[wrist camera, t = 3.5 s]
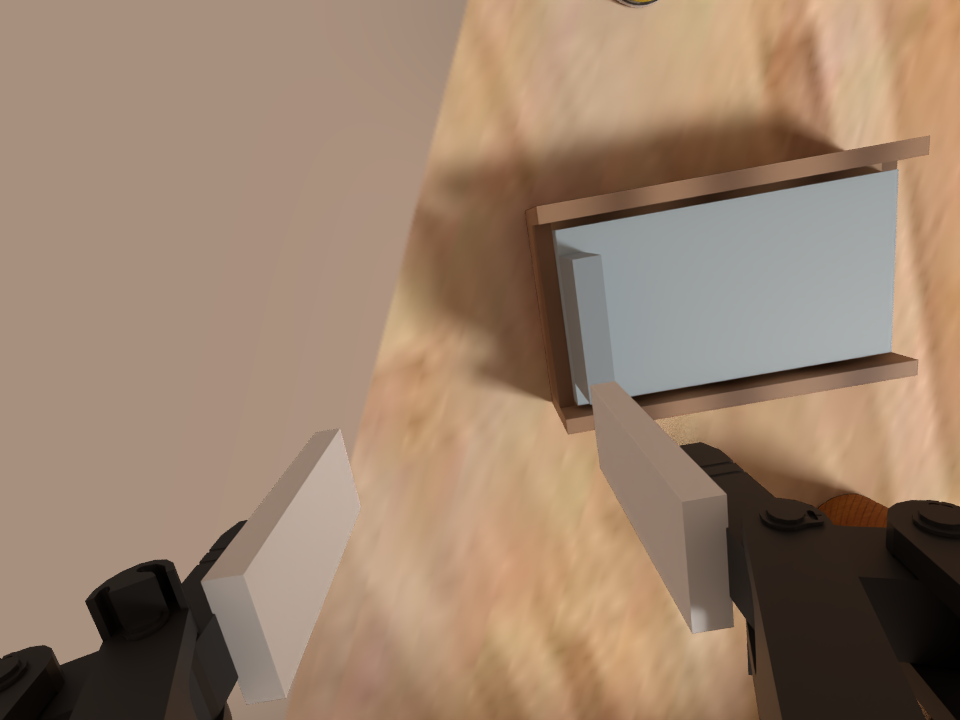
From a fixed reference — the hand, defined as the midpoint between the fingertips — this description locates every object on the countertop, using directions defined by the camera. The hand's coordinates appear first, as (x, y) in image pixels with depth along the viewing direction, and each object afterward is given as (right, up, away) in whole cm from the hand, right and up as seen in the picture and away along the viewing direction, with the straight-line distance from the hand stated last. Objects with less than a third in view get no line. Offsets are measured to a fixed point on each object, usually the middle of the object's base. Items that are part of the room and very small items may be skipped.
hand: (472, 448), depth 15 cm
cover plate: (+15, +7, +16) cm, 23 cm away
